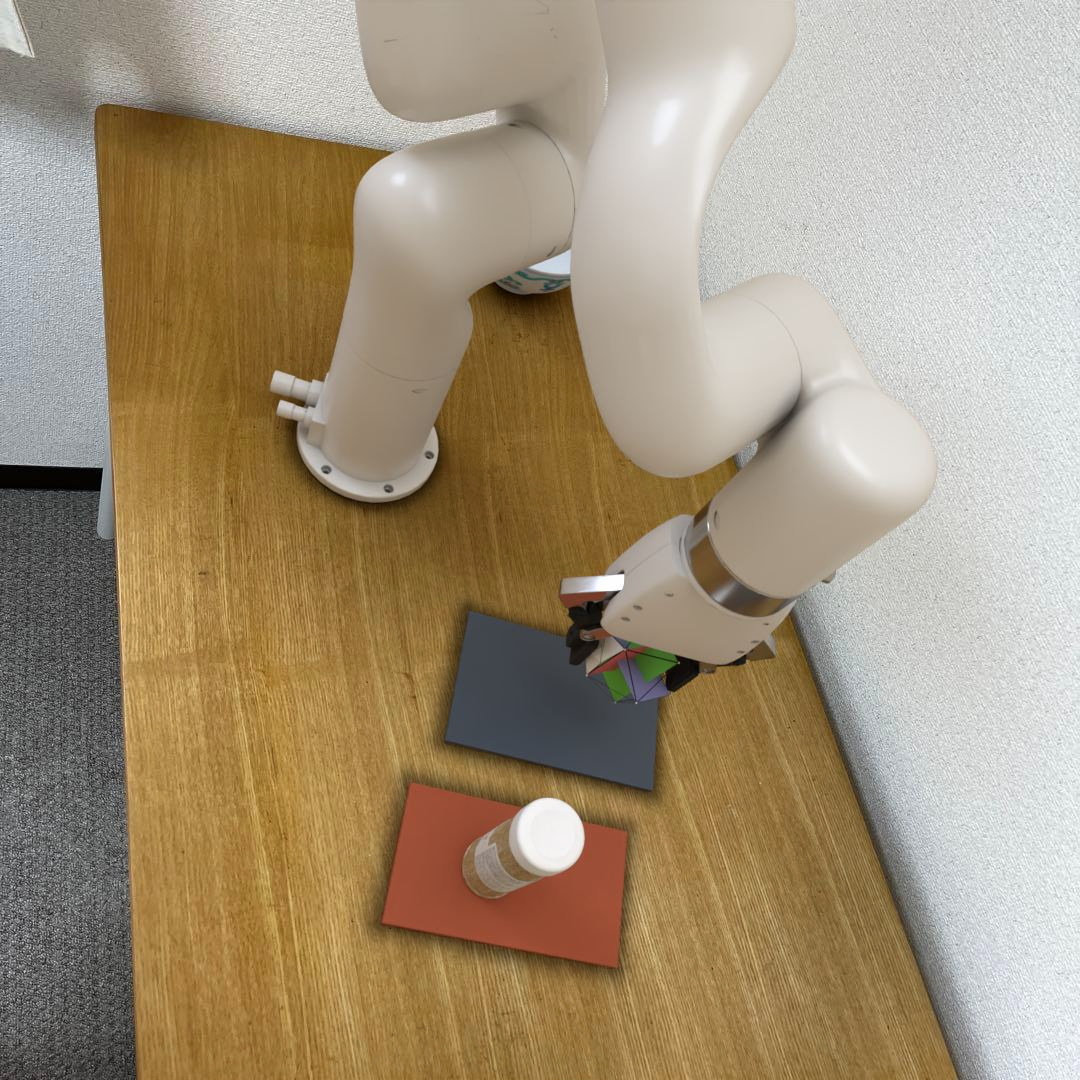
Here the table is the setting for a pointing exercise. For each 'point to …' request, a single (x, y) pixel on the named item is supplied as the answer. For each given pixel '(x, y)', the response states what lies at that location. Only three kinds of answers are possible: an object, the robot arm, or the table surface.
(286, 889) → the table surface
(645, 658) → the geometric puzzle
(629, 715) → the back mat
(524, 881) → the sprinkles bottle
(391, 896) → the front mat
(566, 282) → the chinaware
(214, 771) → the table surface
